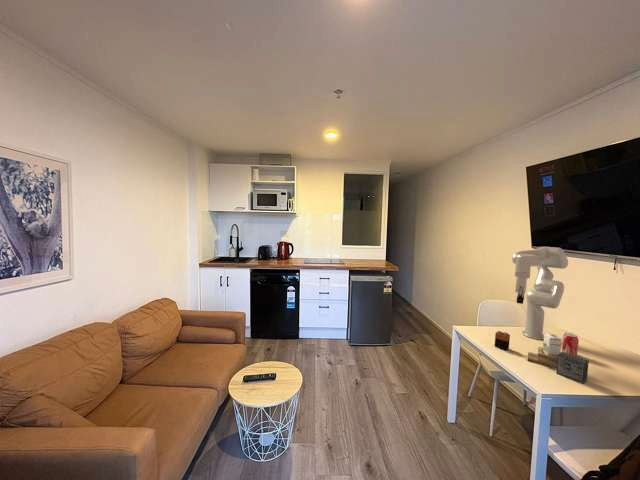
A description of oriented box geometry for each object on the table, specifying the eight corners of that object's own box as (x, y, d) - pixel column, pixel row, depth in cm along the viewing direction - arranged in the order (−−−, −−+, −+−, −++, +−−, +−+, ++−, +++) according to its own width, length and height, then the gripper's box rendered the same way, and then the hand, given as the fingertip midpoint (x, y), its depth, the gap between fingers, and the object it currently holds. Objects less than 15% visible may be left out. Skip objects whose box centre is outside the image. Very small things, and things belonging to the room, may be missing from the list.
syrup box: (560, 364, 146) (562, 338, 145) (547, 362, 148) (549, 337, 147) (553, 359, 152) (556, 334, 151) (541, 357, 153) (543, 333, 152)
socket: (528, 353, 160) (528, 344, 160) (574, 365, 148) (574, 355, 147) (527, 360, 152) (528, 351, 151) (576, 374, 139) (577, 363, 139)
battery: (507, 350, 163) (508, 334, 163) (494, 346, 168) (495, 331, 168) (509, 348, 166) (510, 332, 166) (496, 344, 171) (497, 329, 171)
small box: (587, 380, 134) (589, 359, 133) (583, 384, 131) (585, 363, 130) (560, 370, 143) (562, 351, 142) (555, 373, 139) (557, 354, 139)
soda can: (560, 350, 166) (562, 331, 165) (575, 353, 162) (577, 334, 161) (562, 354, 160) (563, 335, 159) (578, 358, 156) (580, 338, 155)
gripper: (515, 272, 177) (513, 297, 179) (513, 275, 164) (511, 303, 165) (530, 273, 173) (528, 299, 174) (529, 277, 159) (527, 306, 160)
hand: (520, 301), depth 169 cm, fingers open, 9 cm apart
